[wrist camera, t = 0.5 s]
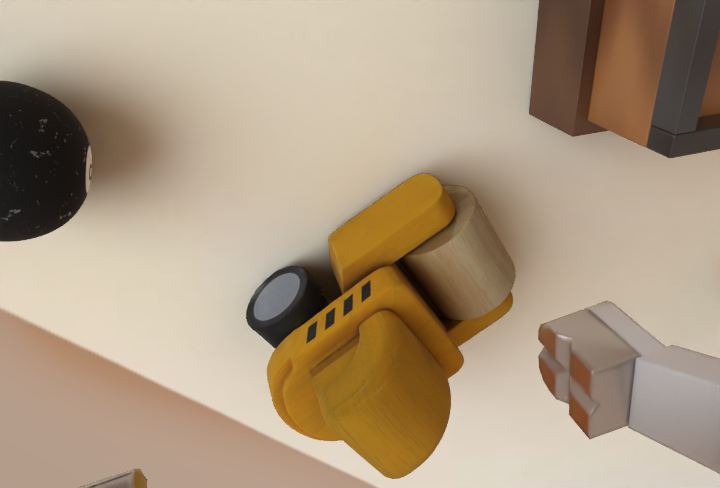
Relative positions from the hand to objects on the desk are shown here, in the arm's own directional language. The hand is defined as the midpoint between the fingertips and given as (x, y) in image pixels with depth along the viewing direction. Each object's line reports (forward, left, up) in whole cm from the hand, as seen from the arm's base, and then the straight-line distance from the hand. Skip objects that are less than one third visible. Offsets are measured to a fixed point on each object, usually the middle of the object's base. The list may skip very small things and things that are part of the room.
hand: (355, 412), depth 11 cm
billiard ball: (-1, -9, -19) cm, 21 cm away
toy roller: (+10, +6, -19) cm, 22 cm away
